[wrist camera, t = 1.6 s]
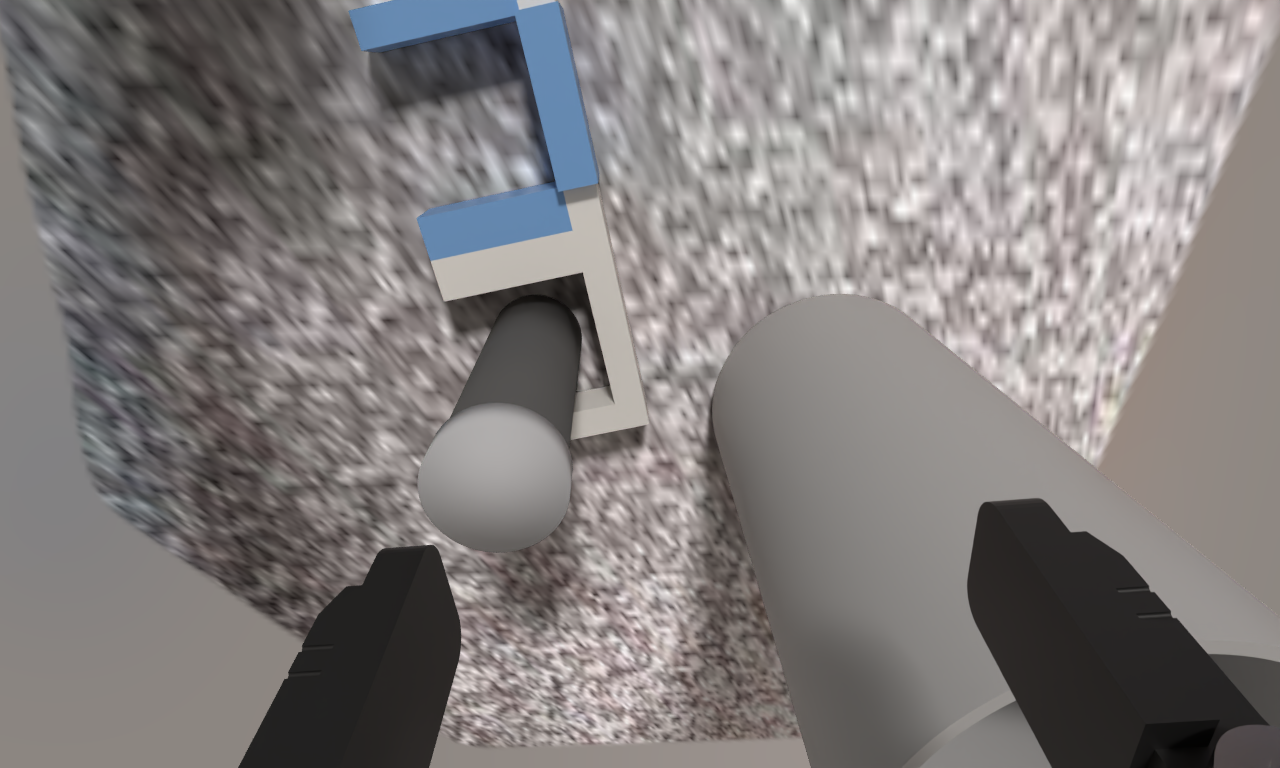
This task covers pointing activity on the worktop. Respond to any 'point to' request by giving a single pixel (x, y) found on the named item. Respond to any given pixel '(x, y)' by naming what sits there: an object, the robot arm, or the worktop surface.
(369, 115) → the worktop surface
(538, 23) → the blue grey comb bracket
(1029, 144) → the worktop surface
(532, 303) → the grey capped cylinder
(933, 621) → the cylinder vase
